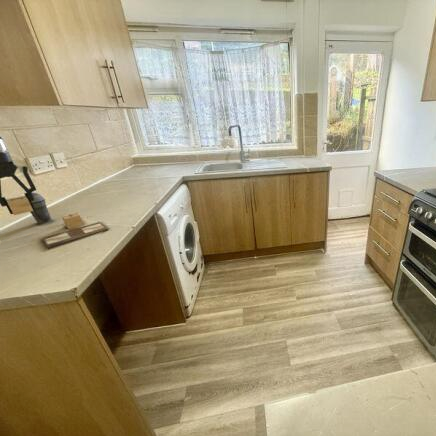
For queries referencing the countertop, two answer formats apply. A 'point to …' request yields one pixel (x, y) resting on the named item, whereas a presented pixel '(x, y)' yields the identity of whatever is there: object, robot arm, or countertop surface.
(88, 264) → the countertop surface
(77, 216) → the tan wooden cube
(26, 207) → the tan toy block
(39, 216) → the beverage cup
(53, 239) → the word board
